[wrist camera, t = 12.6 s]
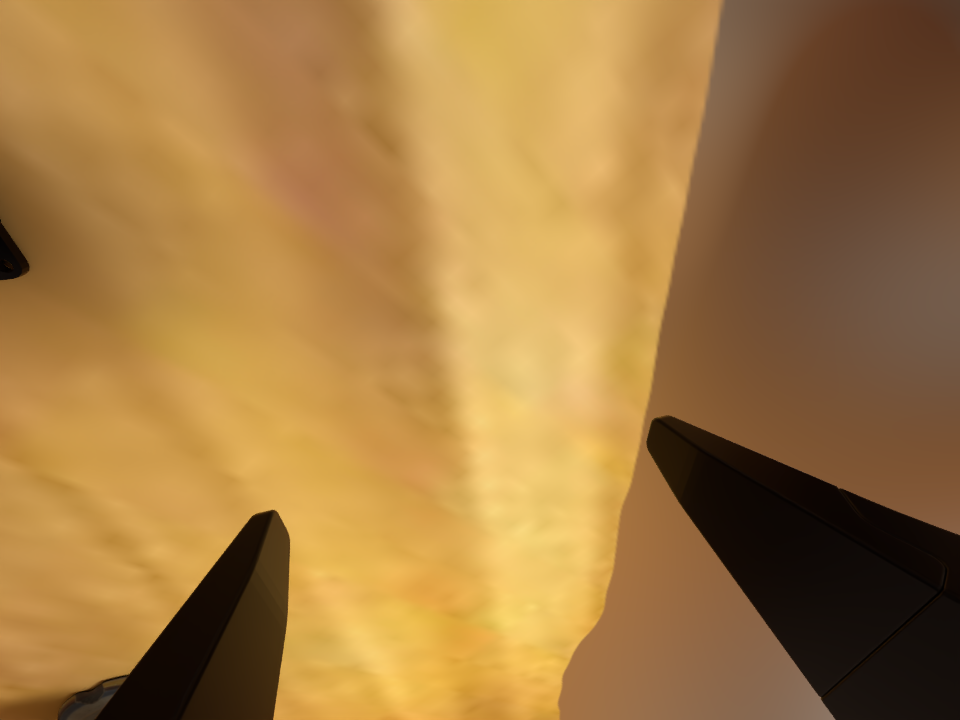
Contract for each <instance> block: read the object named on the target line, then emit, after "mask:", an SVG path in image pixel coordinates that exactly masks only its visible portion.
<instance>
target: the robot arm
mask: <svg viewBox="0 0 960 720" xmlns="http://www.w3.org/2000/svg"><path fill="white" fill-rule="evenodd" d="M3 260H6V261H8V262H9V263H11V264H12V266H13V268H14V269H11V268H8V267H7V266H6V265H5V264H4V263H3ZM29 267H30V266H29V264H28V261H27V260H26V258H25V257H24V256H23V254H22V253H21V251H20V250H19V248H18V247H17V245H16V244H15V242H14V241H13V239H12V238H11V237H10V235H9V234H8V232H7V231H6V229H5V228H4V226H3V225H2V223H1V220H0V280H7V279H14V278H17V277H20V276H22V275H25V274H26V273H27V272H28V271H29ZM647 448H648V451H649V453H650V454H651V456H652V458H653V459H654V461H655V463H656V465H657V466H658V468H659V470H660V471H661V473H662V475H663V477H664V478H665V480H666V482H667V483H668V485H669V487H670V488H671V490H672V492H673V493H674V495H675V497H676V498H677V500H678V502H679V503H680V504H681V506H682V508H683V509H684V510H685V512H686V513H687V515H688V516H689V517H690V519H691V520H692V522H693V523H694V524H695V526H696V527H697V528H698V530H699V531H700V533H701V534H702V535H703V537H704V538H705V539H706V541H707V542H708V544H709V545H710V546H711V548H712V549H713V551H714V552H715V553H716V555H717V556H718V557H719V559H720V560H721V562H722V563H723V564H724V566H725V567H726V568H727V570H728V571H729V573H730V574H731V575H732V577H733V578H734V579H735V581H736V582H737V584H738V585H739V586H740V588H741V589H742V591H743V592H744V593H745V595H746V596H747V597H748V599H749V600H750V602H751V603H752V604H753V606H754V607H755V608H756V610H757V611H758V613H759V614H760V615H761V617H762V618H763V619H764V621H765V622H766V624H767V625H768V627H769V628H770V629H771V631H772V632H773V633H774V635H775V636H776V637H777V639H778V640H779V642H780V643H781V644H782V646H783V647H784V649H785V650H786V651H787V653H788V654H789V656H790V657H791V658H792V660H793V661H794V662H795V664H796V665H797V667H798V668H799V669H800V671H801V672H802V673H803V675H804V676H805V678H806V679H807V680H808V682H809V683H810V684H811V686H812V687H813V689H814V690H815V691H816V693H817V694H818V695H819V696H820V697H821V700H822V701H823V703H824V704H825V706H826V707H827V708H828V709H829V711H830V713H831V714H832V715H833V717H834V718H835V719H836V720H960V535H958V534H955V533H952V532H950V531H947V530H944V529H942V528H939V527H936V526H934V525H931V524H928V523H925V522H923V521H920V520H918V519H915V518H912V517H910V516H907V515H905V514H902V513H899V512H897V511H894V510H892V509H889V508H887V507H885V506H882V505H880V504H877V503H875V502H872V501H870V500H868V499H865V498H863V497H860V496H858V495H856V494H853V493H851V492H849V491H846V490H844V489H841V488H840V489H838V487H837V486H834V485H832V484H830V483H827V482H825V481H823V480H820V479H818V478H816V477H813V476H811V475H809V474H806V473H804V472H802V471H799V470H797V469H794V468H792V467H790V466H787V465H785V464H783V463H780V462H778V461H776V460H773V459H771V458H769V457H766V456H764V455H761V454H759V453H757V452H755V451H752V450H750V449H747V448H745V447H743V446H740V445H738V444H736V443H733V442H731V441H729V440H726V439H724V438H722V437H719V436H717V435H715V434H712V433H710V432H707V431H705V430H703V429H701V428H698V427H696V426H693V425H691V424H689V423H686V422H684V421H682V420H679V419H677V418H675V417H672V416H669V415H668V416H667V415H666V416H661V417H657V418H654V419H653V420H652V422H651V425H650V429H649V433H648V437H647ZM289 559H290V538H289V534H288V531H287V529H286V527H285V525H284V523H283V522H282V520H281V518H280V516H279V514H278V512H277V511H275V510H270V511H266V512H261V513H257V514H255V515H253V516H252V517H251V518H250V519H249V521H248V522H247V523H246V524H245V526H244V527H243V528H242V530H241V531H240V532H239V534H238V535H237V536H236V537H235V539H234V540H233V541H232V543H231V544H230V545H229V546H228V548H227V549H226V550H225V552H224V553H223V554H222V555H221V557H220V558H219V559H218V561H217V562H216V563H215V564H214V566H213V567H212V568H211V570H210V571H209V572H208V573H207V575H206V576H205V577H204V579H203V580H202V581H201V583H200V584H199V585H198V586H197V588H196V589H195V590H194V592H193V593H192V594H191V595H190V597H189V598H188V599H187V601H186V602H185V603H184V604H183V606H182V607H181V608H180V610H179V611H178V612H177V613H176V615H175V616H174V617H173V619H172V620H171V621H170V623H169V624H168V625H167V626H166V628H165V629H164V630H163V632H162V633H161V634H160V635H159V637H158V638H157V639H156V641H155V642H154V643H153V644H152V646H151V647H150V648H149V650H148V651H147V652H146V653H145V655H144V656H143V657H142V659H141V660H140V661H139V662H138V664H137V665H136V666H135V668H134V669H133V670H132V672H131V673H130V674H129V675H128V677H127V678H126V679H125V681H124V682H123V683H122V684H121V686H120V687H119V688H118V690H117V691H116V692H115V693H114V695H113V696H112V697H111V699H110V700H109V701H108V702H107V704H106V705H105V706H104V708H103V709H102V710H101V712H100V713H99V714H98V715H97V717H96V718H95V719H94V720H273V717H274V710H275V703H276V696H277V689H278V682H279V675H280V668H281V661H282V654H283V648H284V641H285V634H286V625H287V615H288V590H289Z"/></svg>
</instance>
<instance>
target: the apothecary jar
mask: <svg viewBox="0 0 960 720" xmlns="http://www.w3.org/2000/svg"><path fill="white" fill-rule="evenodd" d="M127 677H128V676H125V677H120V678H116V679H112V680H108V681H105V682H103V683H102V684H101V685H99V686H98V687H96V688H95V689H94V690H92V691H88V692H81V693H77V694H75V695H74V696H72V697H71V698H70V699H68V700H67V701H66V702H65V703H64V704H63V705H62V707H61V708H60V710H59V713H58V720H94V719H95V718H96V717H97V715H98V714H99V713H100V712H101V710H102V709H103V708H104V706H105V705H106V704H107V702H108V701H109V700H110V699H111V697H112V696H113V695H114V693H115V692H116V691H117V690H118V688H119V687H120V686H121V684H122V683H123V682H124V681H125V679H126V678H127Z"/></svg>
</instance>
